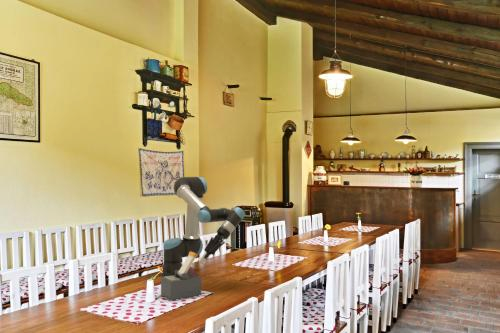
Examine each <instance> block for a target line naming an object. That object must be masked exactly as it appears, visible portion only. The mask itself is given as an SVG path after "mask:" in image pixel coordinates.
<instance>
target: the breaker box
mask: <svg viewBox="0 0 500 333" xmlns="http://www.w3.org/2000/svg"><path fill="white" fill-rule="evenodd" d="M178 271H179V270H175V275H172V276H165V277H164V276H160V296H162V295H163V296H164V297H163V296H162V297H163V298H165V297H166V298H167V300H168V299H169V300H168V301H170V300H173V301H177V300H176V299H179V300H182V299H181V298H185V299H189V298H188V297H191V298H195V297H194V296H197V297H200V296H199V295H201V296H202V276H198V274H197V275H194V274H192V273H182V277H181V276H179V275H177V272H178ZM166 298H165V299H166Z"/></svg>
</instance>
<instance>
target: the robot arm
mask: <svg viewBox="0 0 500 333" xmlns="http://www.w3.org/2000/svg"><path fill="white" fill-rule="evenodd" d="M173 192H174V194H175V195H176V196H177V197H178V198H180V199H182V200H183V201H184V203H186V204H187V206H186V207H187V208H186V216H185V217H186V218H185V219H186V222H185V234H183V235H182V238H180V237H175V238H174V237H173V238H168V239H166V240H164V242H163V264H162V267H161V270H162V269H163V273H161V272H160V277H165V276H172V275H175V270H180V268H181V267H182V265H183V263H182V258H187V257H188V255H189V252H190V251H191V252H194V253H196V254H197V256H199V255H200V254H202V252H203V249H204V253H203V254H202V255H201V257H200V258H199V259H198V262H199V264H201V265H203V264H204V263H205V262H206V261H207V259H208V258H209V257H210V256H211V255H214V254H215V253H216V252H217V251H218V250H220V248H221V247H222V246H223V245H224V244H226V242H225V240H227V239H228V238H229V237H230V236H231V234H232V233H234V230H235V229H236V228H237V227H238V225H239V224H240V223H241V222H242V221H243V219H244V217H245V216H246V212H245V210H243V209H242V208H240V207H239V206H236V207H235V208H233V209H229V208H226V207H219V208H217V209H215V208H214V209H211V208H210V207H209V206H208V205H207V204H206V203H204V201H202V199H203V198H204V195H205V194H207V192H208V184H207V181H206V179H205V178H204V177H203V176H201V177H200V176H181V177H178V179H176V180H175V182H174V184H173ZM218 222H219V223H220V222H222V224H221V225H220V227H218V228H217V230H216V233H217V234H216V235H215V236H214V237H213V236H211V237H210V239H209V242H208V243H207V244H206V246H205V248H203V247H204V243H203V240H202V239H201V236H200V235H199V226H200V223H203V224H207V223H218Z"/></svg>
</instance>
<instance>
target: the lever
mask: <svg viewBox="0 0 500 333" xmlns="http://www.w3.org/2000/svg"><path fill="white" fill-rule="evenodd" d="M197 257H198V255H197V254H196V253H194V252H191V251H190V252H189V255H188V257H185V258H186V259H185V260H184V262H183V263H182V267H181V268H180V270H179V271H178V272H177V275H179V276H181V277H182V273H187V271H188V270H189V268H190V267H192V265H193V263H194V261H195V259H196V258H197Z"/></svg>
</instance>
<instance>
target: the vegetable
mask: <svg viewBox="0 0 500 333" xmlns="http://www.w3.org/2000/svg"><path fill="white" fill-rule="evenodd" d="M187 273H192V274H194V275H197V276H198V273H197V272H196V270H194V268H193V267H192V266H190V268H189V270H188V271H187Z"/></svg>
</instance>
